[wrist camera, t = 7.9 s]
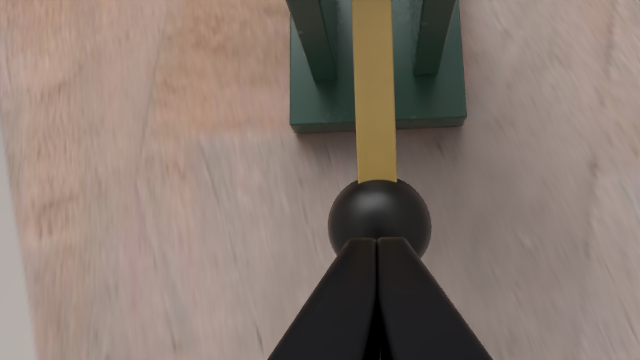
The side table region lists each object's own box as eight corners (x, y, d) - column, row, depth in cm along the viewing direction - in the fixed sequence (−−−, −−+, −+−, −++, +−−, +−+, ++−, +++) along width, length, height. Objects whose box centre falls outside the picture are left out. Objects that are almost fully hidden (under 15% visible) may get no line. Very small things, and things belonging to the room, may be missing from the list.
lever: (427, 263, 16) (438, 291, 13) (334, 265, 16) (324, 292, 13) (417, -122, 15) (426, -186, 12) (319, -112, 16) (305, -171, 13)
